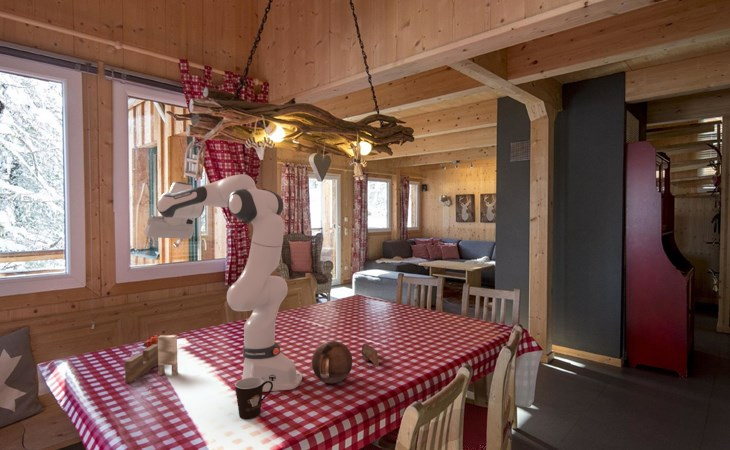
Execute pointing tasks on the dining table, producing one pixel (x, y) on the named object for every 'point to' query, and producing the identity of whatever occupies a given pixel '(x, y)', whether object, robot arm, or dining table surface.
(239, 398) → the coffee mug
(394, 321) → the dining table surface
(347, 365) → the wooden sphere
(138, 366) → the walnut slotted plate
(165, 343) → the ash slotted plate
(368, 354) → the bird sculpture
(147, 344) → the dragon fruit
